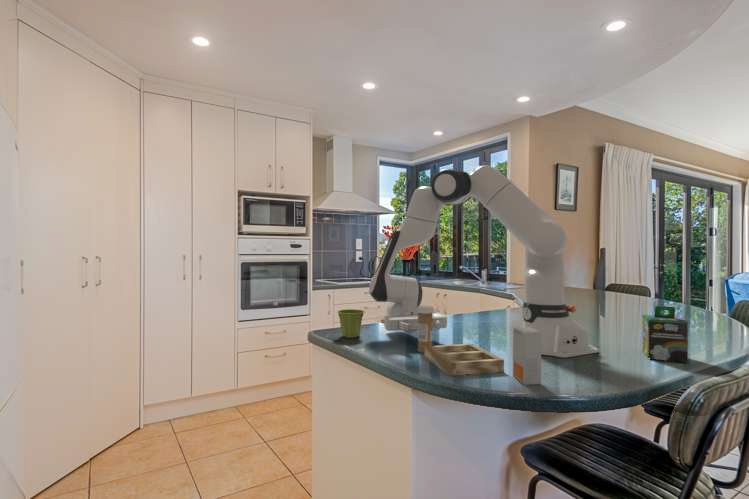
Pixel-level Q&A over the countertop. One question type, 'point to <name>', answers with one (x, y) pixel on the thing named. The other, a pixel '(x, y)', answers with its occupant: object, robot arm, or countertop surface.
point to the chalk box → (665, 336)
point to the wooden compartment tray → (464, 359)
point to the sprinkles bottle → (425, 327)
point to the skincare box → (527, 355)
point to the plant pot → (350, 322)
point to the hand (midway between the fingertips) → (423, 327)
